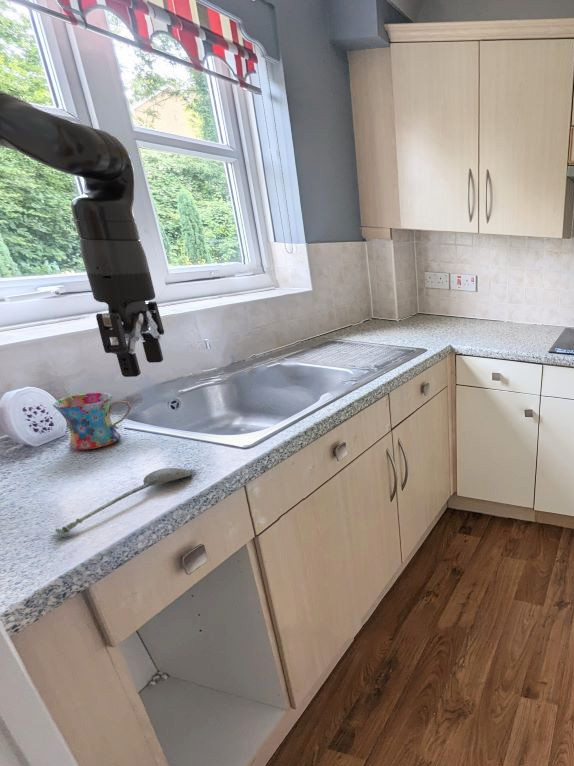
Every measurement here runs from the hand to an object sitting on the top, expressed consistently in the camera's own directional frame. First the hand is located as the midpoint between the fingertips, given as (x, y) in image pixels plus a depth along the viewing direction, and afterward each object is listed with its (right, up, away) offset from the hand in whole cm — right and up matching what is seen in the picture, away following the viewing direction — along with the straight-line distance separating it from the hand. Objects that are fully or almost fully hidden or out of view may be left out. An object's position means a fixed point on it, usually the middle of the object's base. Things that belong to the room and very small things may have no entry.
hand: (144, 368), depth 77 cm
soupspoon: (-7, -24, +5) cm, 25 cm away
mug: (-31, -15, +26) cm, 43 cm away
